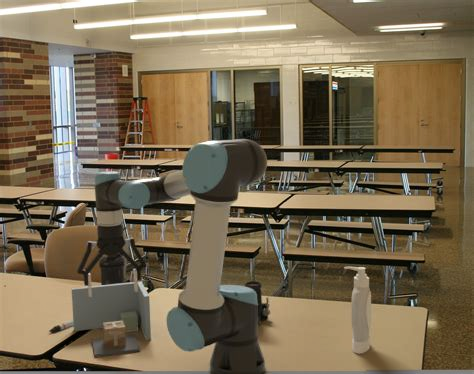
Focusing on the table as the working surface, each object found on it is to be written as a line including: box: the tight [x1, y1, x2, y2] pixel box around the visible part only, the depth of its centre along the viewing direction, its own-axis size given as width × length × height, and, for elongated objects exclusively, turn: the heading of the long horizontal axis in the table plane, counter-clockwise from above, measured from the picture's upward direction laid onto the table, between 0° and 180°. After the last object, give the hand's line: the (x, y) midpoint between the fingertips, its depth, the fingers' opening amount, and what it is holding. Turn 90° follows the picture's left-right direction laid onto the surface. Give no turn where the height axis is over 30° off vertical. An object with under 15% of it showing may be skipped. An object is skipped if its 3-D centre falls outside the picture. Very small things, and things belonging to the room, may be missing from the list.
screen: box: [71, 280, 152, 341], centre depth 200 cm, size 17×23×14 cm
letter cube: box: [103, 320, 127, 349], centre depth 190 cm, size 6×6×6 cm
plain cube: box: [120, 311, 139, 333], centre depth 206 cm, size 5×5×5 cm
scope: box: [244, 280, 271, 327], centre depth 208 cm, size 8×14×10 cm
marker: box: [48, 319, 74, 333], centre depth 209 cm, size 15×2×2 cm, turn 146°
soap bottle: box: [343, 266, 372, 355], centre depth 185 cm, size 13×8×24 cm, turn 159°
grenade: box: [98, 252, 125, 285], centre depth 235 cm, size 9×11×20 cm
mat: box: [91, 333, 140, 358], centre depth 191 cm, size 13×13×1 cm
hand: (113, 293), depth 189 cm, fingers open, 13 cm apart
